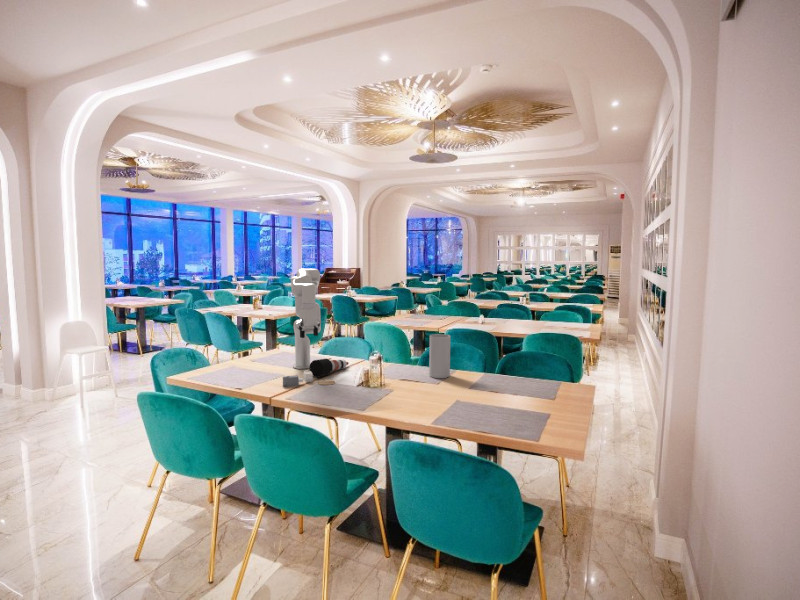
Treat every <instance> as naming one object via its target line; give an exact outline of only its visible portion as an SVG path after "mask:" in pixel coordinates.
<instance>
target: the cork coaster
mask: <svg viewBox="0 0 800 600" xmlns="http://www.w3.org/2000/svg"><path fill="white" fill-rule="evenodd" d="M335 383H336V380H334V379H320V380H318V381H317V385H319V386H330V385H332V386H333V385H334V384H335Z"/></svg>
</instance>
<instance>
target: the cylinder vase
mask: <svg viewBox="0 0 800 600" xmlns="http://www.w3.org/2000/svg"><path fill="white" fill-rule="evenodd" d="M428 357H429V359H428V360H429V365H428V368H429V369H428V371H429V372H428V374H429V377H430V376H431V377H430V378H433V379H447V377H448V378H450V375H451V372H450V371H451V335H449V334H445V333H444V334H442V333H434V334H430V335H429V355H428Z"/></svg>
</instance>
